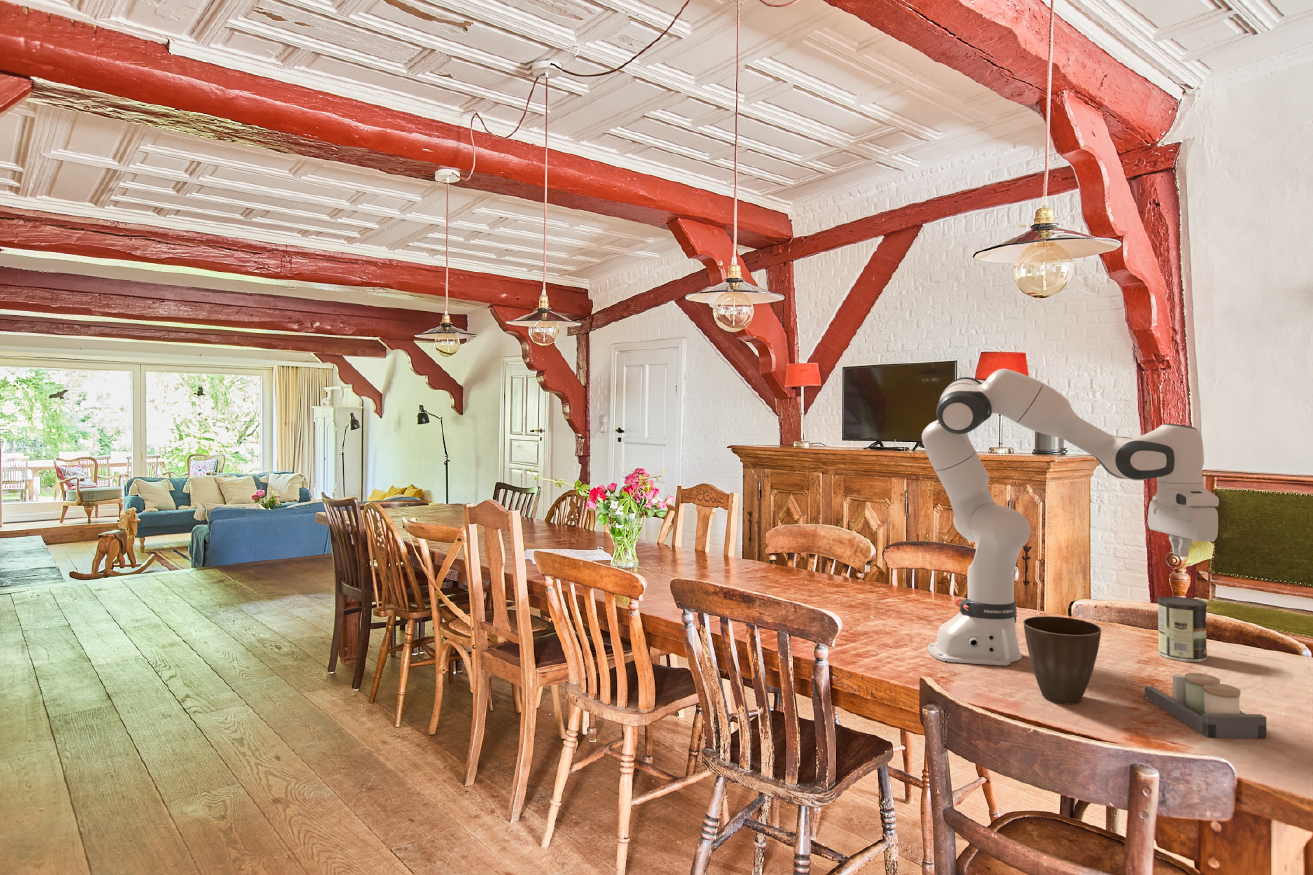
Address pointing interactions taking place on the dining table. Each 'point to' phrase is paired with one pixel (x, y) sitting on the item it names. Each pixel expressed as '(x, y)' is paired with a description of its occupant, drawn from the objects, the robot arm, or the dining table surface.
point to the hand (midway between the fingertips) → (1180, 555)
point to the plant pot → (1062, 655)
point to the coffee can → (1182, 629)
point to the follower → (1179, 689)
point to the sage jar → (1197, 690)
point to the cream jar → (1221, 699)
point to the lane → (1211, 719)
